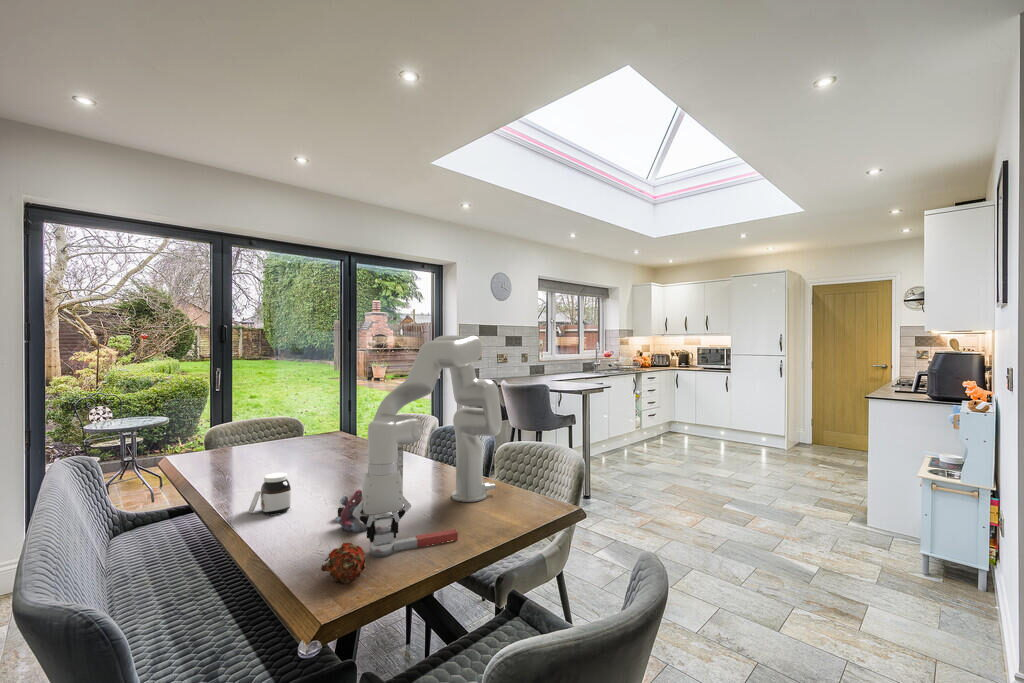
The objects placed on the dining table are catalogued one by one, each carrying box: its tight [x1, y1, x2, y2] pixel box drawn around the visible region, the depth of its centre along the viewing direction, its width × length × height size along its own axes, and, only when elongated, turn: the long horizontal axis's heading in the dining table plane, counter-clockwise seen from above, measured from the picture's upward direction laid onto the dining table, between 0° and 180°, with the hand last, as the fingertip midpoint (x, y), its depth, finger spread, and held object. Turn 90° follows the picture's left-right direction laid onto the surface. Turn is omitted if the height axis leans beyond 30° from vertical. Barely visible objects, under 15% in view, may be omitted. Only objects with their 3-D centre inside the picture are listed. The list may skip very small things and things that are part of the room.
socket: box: [372, 512, 395, 545], centre depth 117 cm, size 5×5×6 cm
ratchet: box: [369, 528, 459, 559], centre depth 121 cm, size 23×6×5 cm, turn 115°
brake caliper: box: [334, 489, 377, 533], centre depth 134 cm, size 11×11×12 cm
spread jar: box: [247, 472, 292, 516], centre depth 146 cm, size 12×11×12 cm
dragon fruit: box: [320, 542, 367, 584], centre depth 104 cm, size 8×8×12 cm
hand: (382, 537), depth 117 cm, fingers closed on socket, 5 cm apart
